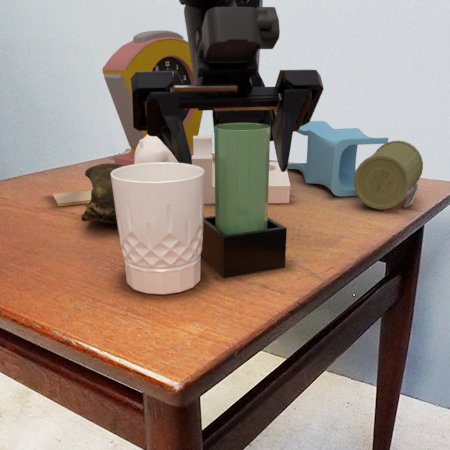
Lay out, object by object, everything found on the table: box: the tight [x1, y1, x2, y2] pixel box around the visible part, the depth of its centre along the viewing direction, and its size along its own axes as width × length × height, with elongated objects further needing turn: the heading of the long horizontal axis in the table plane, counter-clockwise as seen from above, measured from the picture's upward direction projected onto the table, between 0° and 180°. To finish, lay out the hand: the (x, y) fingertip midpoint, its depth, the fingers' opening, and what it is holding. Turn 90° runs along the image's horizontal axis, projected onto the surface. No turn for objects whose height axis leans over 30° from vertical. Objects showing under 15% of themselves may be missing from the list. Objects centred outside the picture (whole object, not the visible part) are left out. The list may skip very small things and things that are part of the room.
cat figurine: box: [134, 134, 178, 164], centre depth 80 cm, size 9×11×12 cm
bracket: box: [192, 135, 291, 205], centre depth 75 cm, size 13×7×8 cm, turn 91°
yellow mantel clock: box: [101, 30, 204, 166], centre depth 95 cm, size 22×9×22 cm, turn 141°
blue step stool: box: [287, 120, 389, 197], centre depth 84 cm, size 8×8×20 cm
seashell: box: [80, 163, 123, 225], centre depth 67 cm, size 16×9×7 cm, turn 3°
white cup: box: [110, 162, 205, 295], centre depth 48 cm, size 8×8×10 cm
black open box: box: [201, 215, 288, 278], centre depth 53 cm, size 6×6×4 cm
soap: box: [114, 148, 131, 157], centre depth 107 cm, size 10×4×1 cm, turn 171°
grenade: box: [354, 140, 424, 210], centre depth 74 cm, size 8×7×15 cm
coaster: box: [52, 189, 92, 208], centre depth 76 cm, size 6×6×1 cm
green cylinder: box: [213, 123, 271, 235], centre depth 51 cm, size 5×5×13 cm
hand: (238, 171), depth 51 cm, fingers open, 9 cm apart
